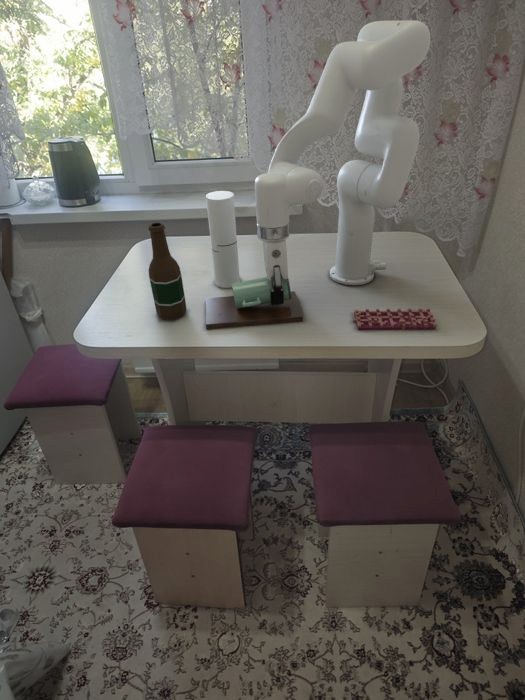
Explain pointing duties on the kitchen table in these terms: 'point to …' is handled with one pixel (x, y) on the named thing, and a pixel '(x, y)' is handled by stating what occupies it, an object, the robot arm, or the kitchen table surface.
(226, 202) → the cylindrical container
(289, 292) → the jug
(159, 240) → the beer bottle
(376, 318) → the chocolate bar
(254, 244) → the kitchen table surface
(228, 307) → the serving board
